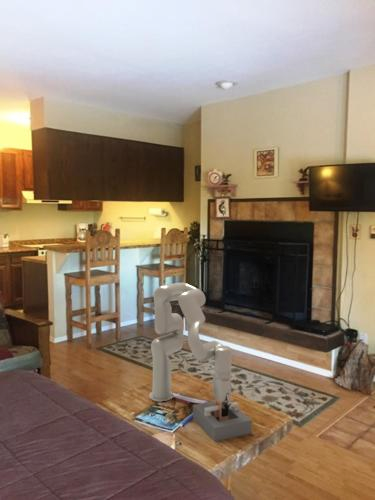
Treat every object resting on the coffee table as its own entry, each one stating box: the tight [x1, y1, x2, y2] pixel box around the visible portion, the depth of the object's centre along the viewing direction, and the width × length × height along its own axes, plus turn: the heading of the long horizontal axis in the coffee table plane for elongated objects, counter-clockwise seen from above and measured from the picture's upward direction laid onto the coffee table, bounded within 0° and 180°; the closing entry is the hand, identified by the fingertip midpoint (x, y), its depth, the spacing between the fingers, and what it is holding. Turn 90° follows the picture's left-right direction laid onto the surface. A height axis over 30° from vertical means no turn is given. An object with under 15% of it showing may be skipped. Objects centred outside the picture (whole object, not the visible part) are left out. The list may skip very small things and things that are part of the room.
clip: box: [213, 397, 229, 422], centre depth 191 cm, size 6×4×10 cm, turn 23°
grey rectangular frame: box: [192, 400, 253, 442], centre depth 191 cm, size 22×18×10 cm
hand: (221, 412), depth 191 cm, fingers closed on clip, 6 cm apart
